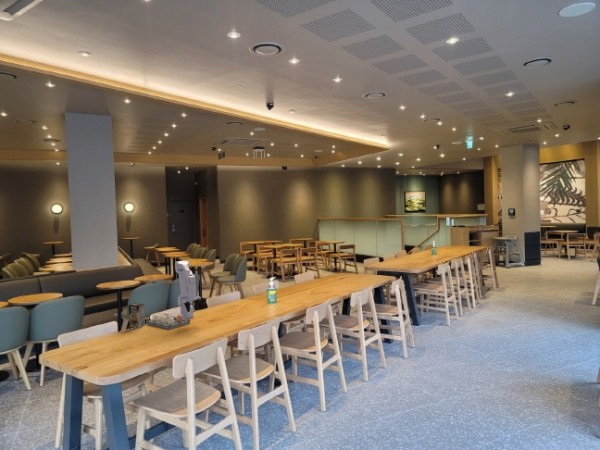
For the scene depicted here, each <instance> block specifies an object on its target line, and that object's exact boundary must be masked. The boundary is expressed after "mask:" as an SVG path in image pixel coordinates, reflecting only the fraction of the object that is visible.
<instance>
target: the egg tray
mask: <svg viewBox="0 0 600 450" xmlns="http://www.w3.org/2000/svg"><path fill="white" fill-rule="evenodd" d="M189 324H191V320H190V319H189V318H187V319H183V321H182V322H177V316H171V315H170V313H169V312H168V311H165V312H163V314H162V316H160V314H158V313H157V314H156V313H155V315H154V316H153V319H149V320H147V321H146V325H149V326H152V327H158V328H161V329H166V330H173V329H176V328H179V327H182V326H183V327H184V326H186V325H189Z"/></svg>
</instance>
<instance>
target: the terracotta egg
mask: <svg viewBox="0 0 600 450" xmlns="http://www.w3.org/2000/svg"><path fill="white" fill-rule="evenodd" d="M176 317H177V322H182V321H183V316H182V315H181V314H178V315H177V316H176Z"/></svg>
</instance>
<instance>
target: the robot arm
mask: <svg viewBox="0 0 600 450" xmlns="http://www.w3.org/2000/svg"><path fill="white" fill-rule="evenodd" d="M174 264H175V265H174V267H175V268H174V269H175V273H177V274H178V281H179V288H180V289H179V290H180V294H179V295H178V297H177V306H178V307H179V310H180V312H179V313H180V315H182V316H183V319H191V318H193V317H195V315H194V309H195V310H196V311H197V310H198V309H199V305H200V303H201V302H202V301H201V298H202V297H201V296H199V295H198V296H197V286H196V285H197V282H198V281H197V280H198V279H197V275H195V274H194V273H193V271H192V270H191V269H190V261H189V260H188V259H187V260H180V261H175V263H174ZM193 302H194V306H193Z"/></svg>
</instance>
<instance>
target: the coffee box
mask: <svg viewBox="0 0 600 450" xmlns="http://www.w3.org/2000/svg"><path fill="white" fill-rule="evenodd" d="M127 307H128V325H129V328H137V327H138V328H139V329H140V328H142V327H145V326H146V323H145V322H146V321H145V303H136V302H134V303H131V304H128V306H127ZM138 328H137V329H138Z"/></svg>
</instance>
